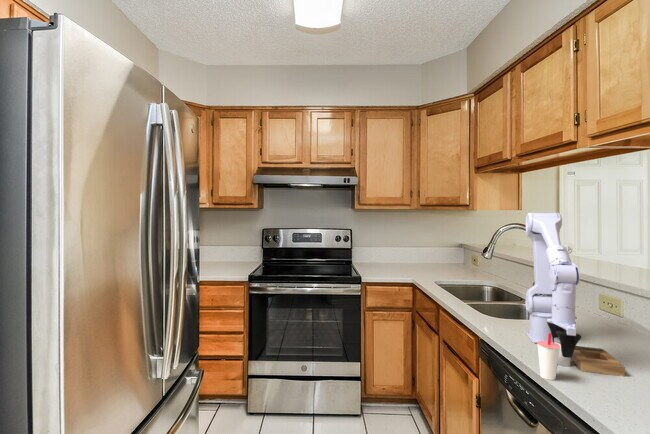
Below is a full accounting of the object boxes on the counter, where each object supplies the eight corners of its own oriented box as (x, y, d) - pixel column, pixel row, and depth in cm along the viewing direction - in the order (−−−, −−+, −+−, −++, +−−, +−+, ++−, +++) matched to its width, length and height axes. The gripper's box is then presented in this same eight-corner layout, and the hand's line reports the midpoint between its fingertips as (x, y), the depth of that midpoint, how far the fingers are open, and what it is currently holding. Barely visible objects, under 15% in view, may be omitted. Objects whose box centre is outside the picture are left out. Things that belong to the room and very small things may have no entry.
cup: (564, 381, 93) (565, 336, 93) (545, 382, 93) (546, 336, 92) (550, 372, 99) (550, 329, 98) (531, 372, 98) (532, 329, 98)
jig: (565, 353, 112) (566, 343, 112) (603, 357, 109) (603, 347, 109) (581, 371, 99) (581, 360, 99) (624, 376, 96) (624, 365, 96)
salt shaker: (551, 359, 107) (552, 336, 107) (568, 361, 105) (568, 338, 105) (556, 365, 103) (556, 341, 103) (573, 367, 101) (573, 343, 101)
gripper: (541, 298, 112) (540, 341, 112) (555, 311, 98) (554, 359, 98) (567, 300, 110) (566, 344, 110) (585, 313, 96) (584, 363, 96)
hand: (562, 351), depth 104 cm, fingers open, 7 cm apart
